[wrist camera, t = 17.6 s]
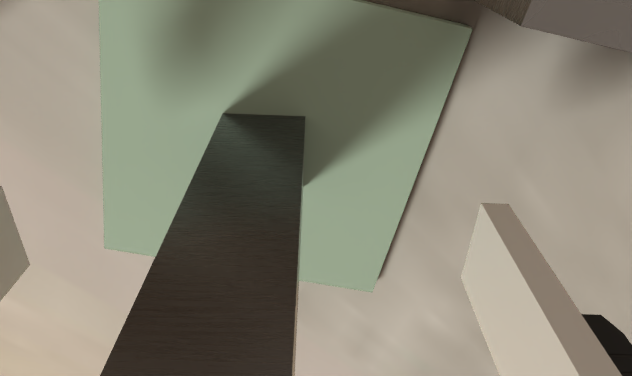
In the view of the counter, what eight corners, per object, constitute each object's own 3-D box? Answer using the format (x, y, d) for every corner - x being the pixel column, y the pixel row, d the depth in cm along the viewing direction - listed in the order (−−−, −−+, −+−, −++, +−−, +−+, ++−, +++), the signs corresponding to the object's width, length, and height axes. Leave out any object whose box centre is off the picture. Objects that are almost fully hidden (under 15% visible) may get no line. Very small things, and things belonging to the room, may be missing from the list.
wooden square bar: (308, 113, 17) (271, 1068, 3) (305, 189, 18) (274, 1025, 5) (219, 110, 17) (-250, 1071, 3) (225, 186, 18) (-55, 1028, 4)
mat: (370, 283, 22) (372, 292, 21) (109, 239, 20) (104, 248, 20) (467, 24, 16) (472, 29, 15) (105, -61, 14) (97, -60, 14)
